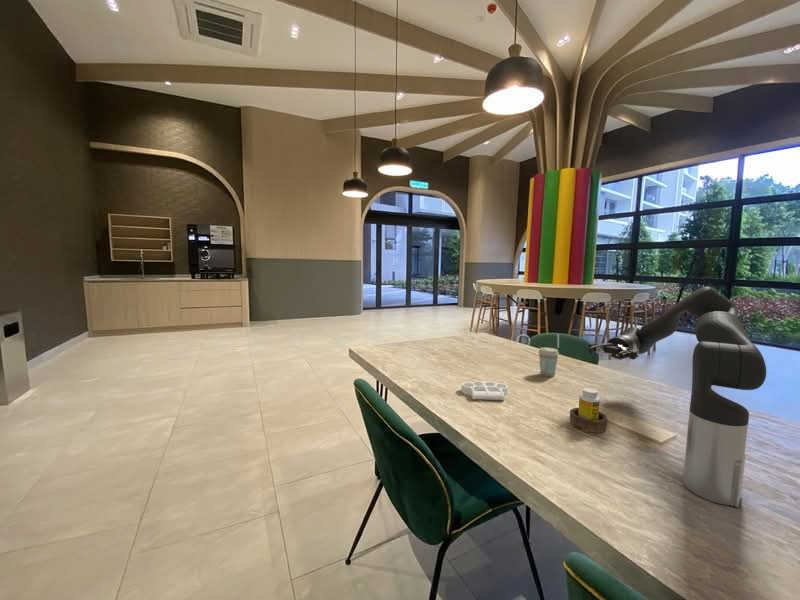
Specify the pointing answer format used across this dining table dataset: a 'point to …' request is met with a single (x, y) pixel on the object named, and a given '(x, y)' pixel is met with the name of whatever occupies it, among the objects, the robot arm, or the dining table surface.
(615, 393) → the dining table surface
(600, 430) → the brown wooden bowl
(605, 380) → the dining table surface
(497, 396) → the white brass knuckles
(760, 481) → the dining table surface
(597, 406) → the supplement bottle
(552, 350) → the coffee cup
